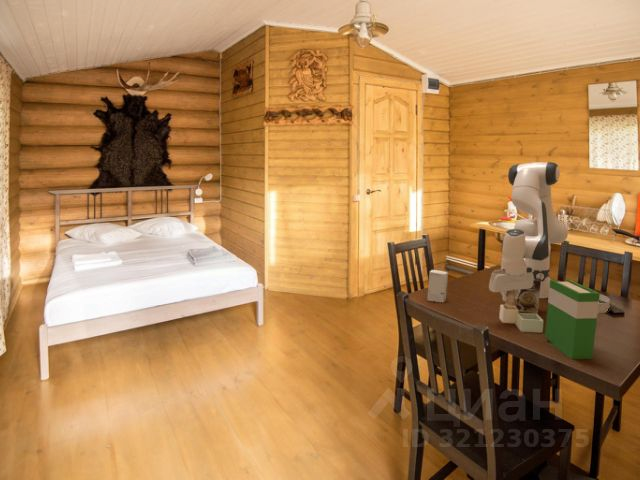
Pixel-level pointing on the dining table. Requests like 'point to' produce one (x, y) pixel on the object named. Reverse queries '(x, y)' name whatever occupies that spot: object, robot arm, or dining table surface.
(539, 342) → the dining table surface
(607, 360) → the dining table surface
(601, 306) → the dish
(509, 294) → the dowel
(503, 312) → the cup
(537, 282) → the coffee box
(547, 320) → the green cereal box
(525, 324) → the holder
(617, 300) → the dining table surface
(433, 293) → the skincare box
